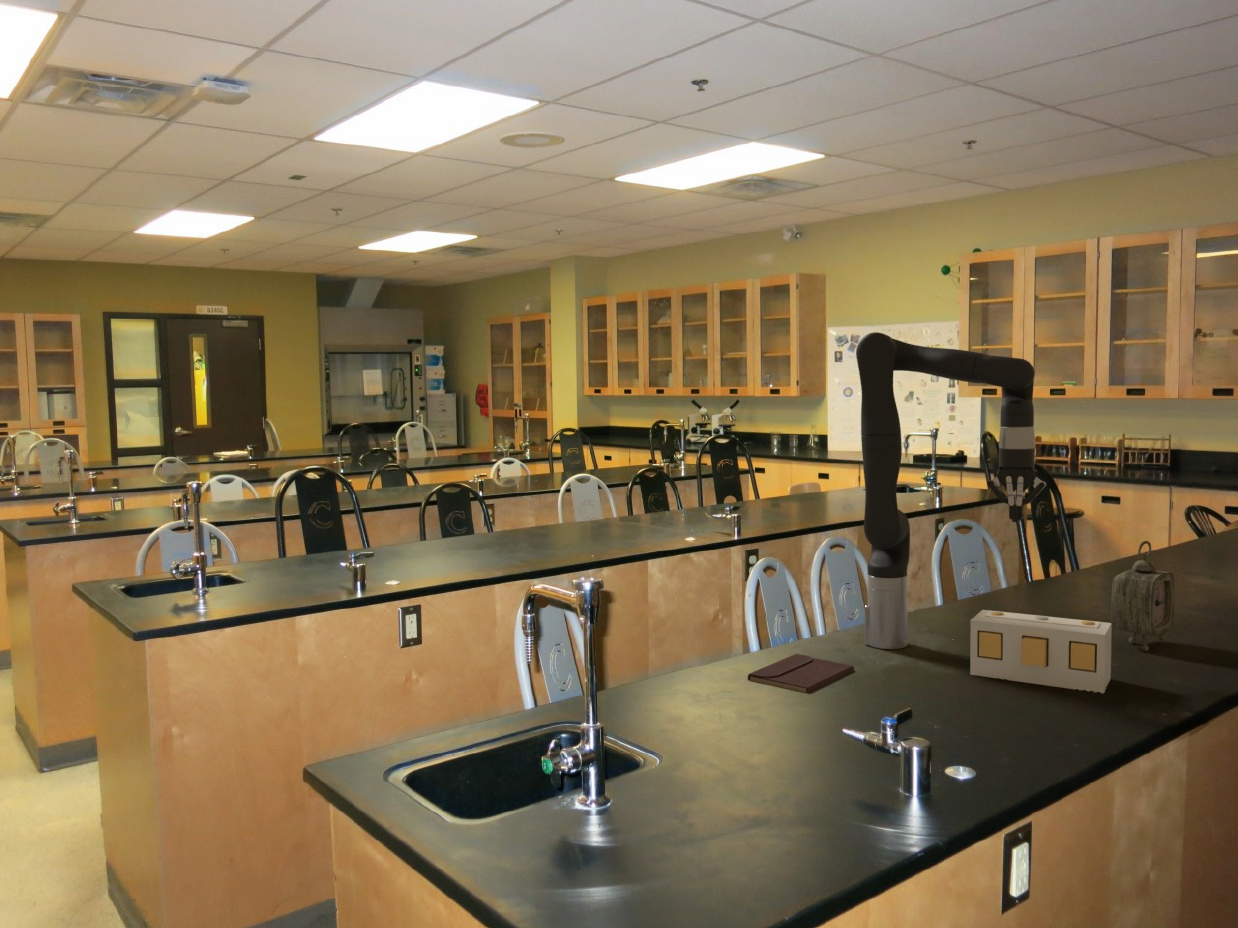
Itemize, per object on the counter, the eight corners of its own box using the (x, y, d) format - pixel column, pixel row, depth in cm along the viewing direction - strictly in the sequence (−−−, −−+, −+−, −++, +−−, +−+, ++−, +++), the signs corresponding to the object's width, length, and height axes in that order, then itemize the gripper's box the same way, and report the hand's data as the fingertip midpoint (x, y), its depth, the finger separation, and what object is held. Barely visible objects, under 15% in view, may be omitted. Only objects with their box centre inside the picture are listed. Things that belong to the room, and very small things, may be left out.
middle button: (1021, 663, 199) (1022, 639, 199) (1024, 660, 202) (1024, 636, 201) (1044, 666, 197) (1044, 642, 196) (1047, 663, 199) (1047, 638, 199)
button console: (970, 674, 207) (970, 617, 206) (982, 661, 216) (982, 607, 215) (1103, 693, 193) (1104, 632, 192) (1110, 678, 202) (1111, 620, 201)
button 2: (1070, 667, 196) (1070, 642, 195) (1072, 663, 198) (1073, 639, 198) (1094, 670, 193) (1094, 645, 193) (1096, 666, 196) (1096, 641, 195)
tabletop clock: (1149, 654, 219) (1152, 546, 217) (1108, 647, 225) (1110, 542, 223) (1173, 642, 228) (1175, 539, 226) (1133, 636, 235) (1135, 535, 233)
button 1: (979, 655, 206) (979, 631, 205) (982, 652, 208) (982, 628, 208) (1000, 658, 203) (1000, 634, 203) (1003, 655, 206) (1003, 631, 205)
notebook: (854, 672, 212) (854, 663, 212) (808, 695, 197) (808, 685, 197) (795, 661, 222) (795, 652, 222) (747, 681, 207) (747, 672, 207)
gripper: (1051, 445, 217) (1050, 521, 219) (990, 445, 225) (989, 518, 226) (1045, 447, 211) (1044, 525, 212) (982, 447, 218) (982, 522, 220)
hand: (1016, 521), depth 219 cm, fingers closed
